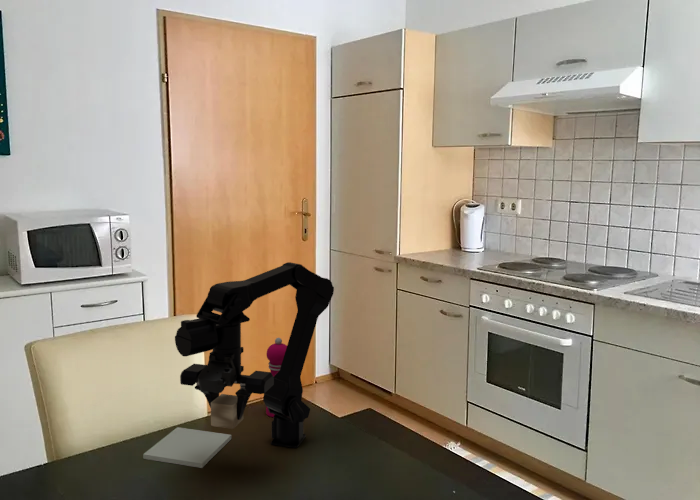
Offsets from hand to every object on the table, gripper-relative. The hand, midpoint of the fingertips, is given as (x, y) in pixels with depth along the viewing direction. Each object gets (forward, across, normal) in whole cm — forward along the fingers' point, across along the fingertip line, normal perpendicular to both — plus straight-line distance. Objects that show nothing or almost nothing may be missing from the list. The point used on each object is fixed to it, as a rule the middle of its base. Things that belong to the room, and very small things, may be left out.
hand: (227, 417), depth 125 cm
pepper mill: (+11, 0, +29) cm, 31 cm away
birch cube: (+1, 0, 0) cm, 1 cm away
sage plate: (+11, -12, +5) cm, 17 cm away
